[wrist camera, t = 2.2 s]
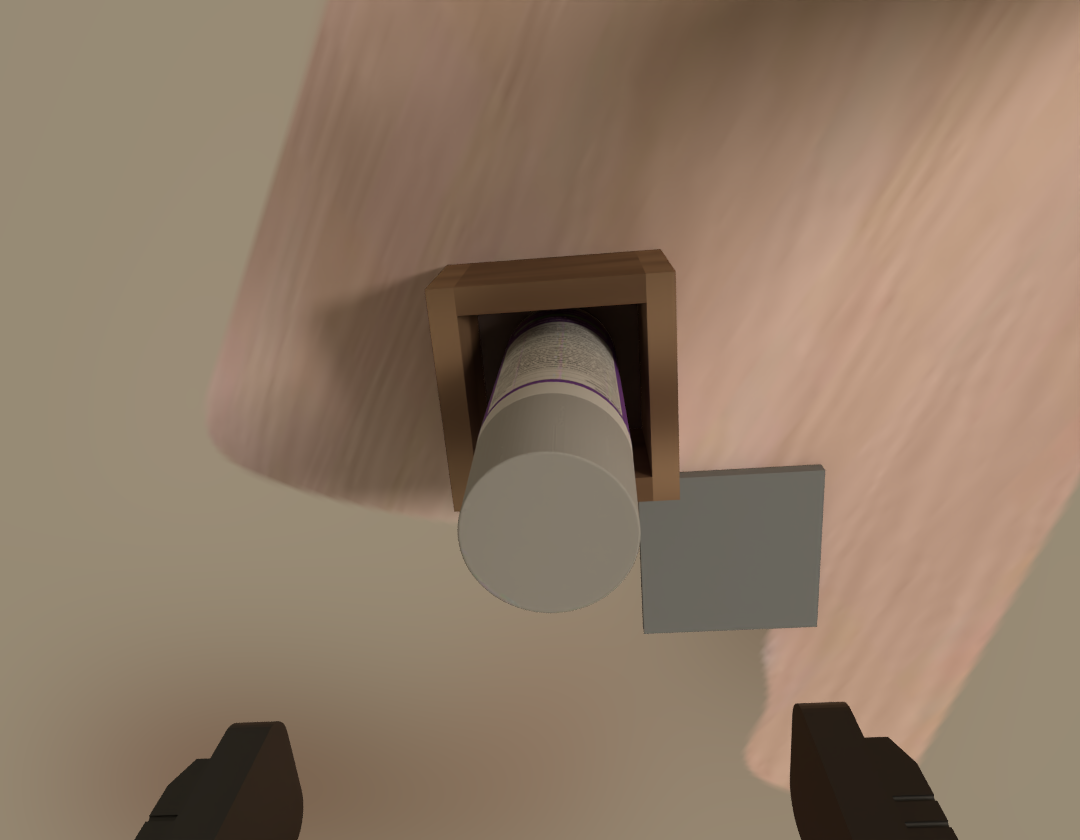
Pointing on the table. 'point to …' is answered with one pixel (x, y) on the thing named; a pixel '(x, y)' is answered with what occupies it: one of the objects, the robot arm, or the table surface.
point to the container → (553, 470)
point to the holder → (559, 287)
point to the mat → (734, 551)
